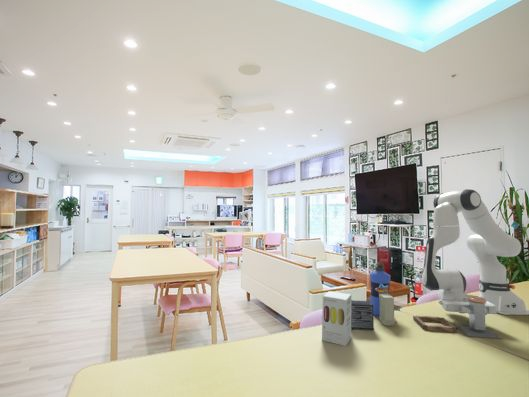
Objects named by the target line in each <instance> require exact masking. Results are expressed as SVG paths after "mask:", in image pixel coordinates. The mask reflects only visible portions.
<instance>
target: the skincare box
mask: <svg viewBox="0 0 529 397" xmlns="http://www.w3.org/2000/svg"><path fill="white" fill-rule="evenodd" d="M379 299H380V317H379V321H380V322H381V323H382V324H383V325H384V326H395V298H394V297H393V296H392V295H391V294H390V293H389V294H379Z"/></svg>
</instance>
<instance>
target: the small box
mask: <svg viewBox="0 0 529 397" xmlns="http://www.w3.org/2000/svg"><path fill="white" fill-rule="evenodd" d="M374 317H375V316H374V315H373V304H372V303H371V302H370V300H352V299H351V330H363V331H366V330H367V331H374V330H375V326H374V323H375V322H374V321H375V319H374Z"/></svg>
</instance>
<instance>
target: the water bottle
mask: <svg viewBox="0 0 529 397" xmlns="http://www.w3.org/2000/svg"><path fill="white" fill-rule="evenodd" d="M369 281H370V294H369V301H370V302H371V303H372V304H373V317H378V318H380V299H379V294H389V295H390V284H391V274H389V273H387V272H386V270H385V264H384V263H383V262H382V261H379V262H376V263H375V271H372V272H370V273H369Z"/></svg>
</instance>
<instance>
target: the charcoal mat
mask: <svg viewBox="0 0 529 397" xmlns="http://www.w3.org/2000/svg"><path fill="white" fill-rule="evenodd" d="M455 327H456V329H458V330H459V331H460V332H461V333H463V334H465V335H466V336H467V337H470V338H485V339H496V340H497V339H498V340H502V337H501V336H500V335H498V334H497V333H496V332H493V331H492V330H491V329H488V328H487V327H485V329H486V330H475V329H473V328H472V327H470V326H467V325H466V326H464V325H455Z"/></svg>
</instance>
